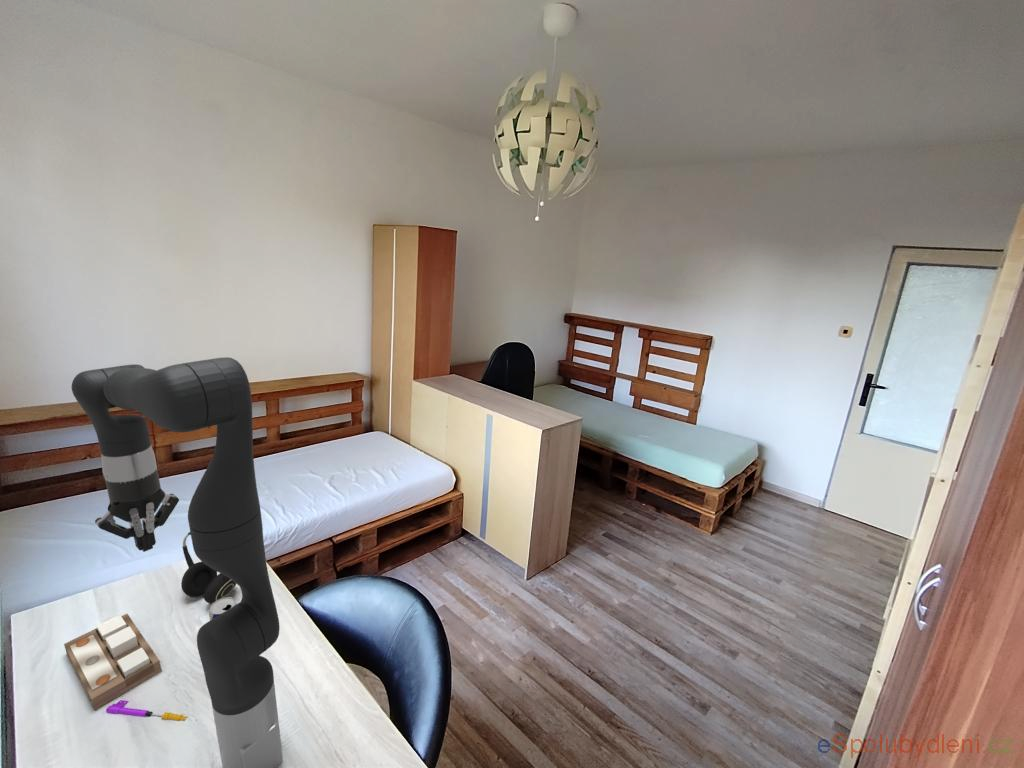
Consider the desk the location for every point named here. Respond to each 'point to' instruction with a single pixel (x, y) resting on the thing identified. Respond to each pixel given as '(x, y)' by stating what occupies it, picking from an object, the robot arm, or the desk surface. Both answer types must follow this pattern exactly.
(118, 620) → the button
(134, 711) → the purple-handled probe tool
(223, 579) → the headphones
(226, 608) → the energy drink
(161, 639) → the desk surface
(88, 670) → the button board
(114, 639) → the button middle
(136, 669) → the button
